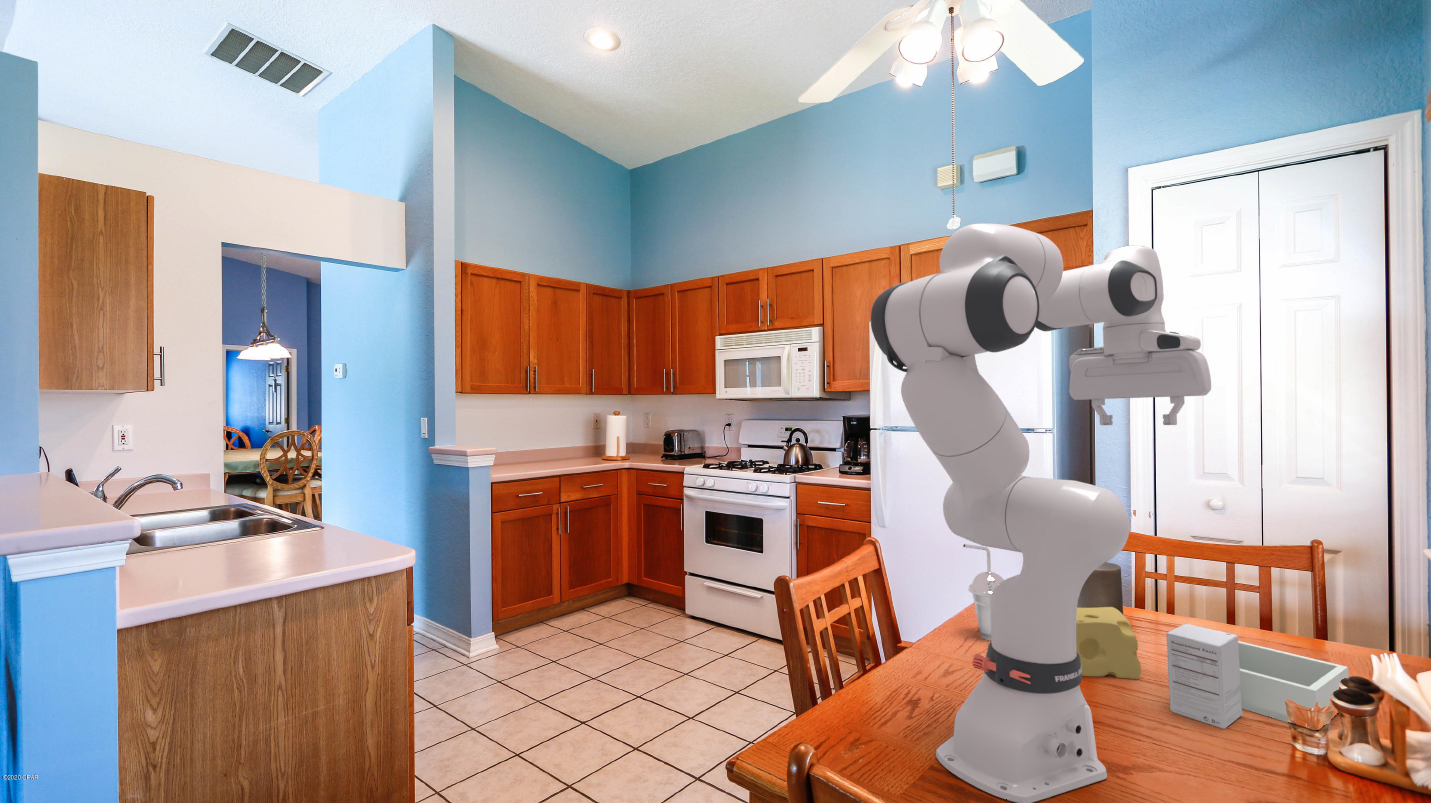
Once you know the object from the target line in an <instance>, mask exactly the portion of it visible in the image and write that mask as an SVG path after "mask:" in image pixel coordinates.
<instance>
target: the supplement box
mask: <svg viewBox="0 0 1431 803" xmlns="http://www.w3.org/2000/svg"><path fill="white" fill-rule="evenodd" d="M1238 641H1239V636H1238V635H1236V634H1234V633H1233V634H1232V633H1229V632H1226V631H1220V630H1216V629H1211V628H1207V627H1202V626H1197V625H1194V624H1189V623H1184V624H1182V625H1180V626H1178V627H1176V628H1174V629H1172V630H1170V631H1168V632H1166V649H1167V650H1166V653H1167V675H1168V689H1169V690H1168V691H1169V711H1170V712H1172V713H1175V714H1178V715H1179V716H1184V717H1187V718H1189V719H1193V720H1194V721H1195V720H1196V721H1198V722H1202V723H1204V724H1208V725H1211V726H1213V727H1217V728H1219V729H1223V730H1224V729H1227V727H1229V726H1230V725H1232V724H1233V723H1234V722H1235V721H1236V720H1238V719H1239V718H1240V717H1242V716H1243V709H1242V702H1241V683H1240V664H1239V645H1238Z"/></svg>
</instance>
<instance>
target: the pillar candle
mask: <svg viewBox="0 0 1431 803" xmlns="http://www.w3.org/2000/svg"><path fill="white" fill-rule="evenodd" d="M1122 582H1123V581H1122V568H1121V566H1120V565H1119V564H1116V563H1112V562H1109V561H1107V562H1105V563H1103V564H1102V565H1100V566H1099V567H1098V568H1096V569H1095V570H1094V571H1093V572H1092V573H1091V574H1090V576H1089V577H1088V578H1087V580H1086V581H1085V583H1084V585H1083V587H1082V589H1081V592H1080V595H1079V598H1078V603H1077V608H1098V607H1114V608H1116V609H1117V610H1119V611H1120V612H1121V613H1122V614H1123V615H1124V603H1123V597H1124V596H1123V583H1122Z"/></svg>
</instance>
